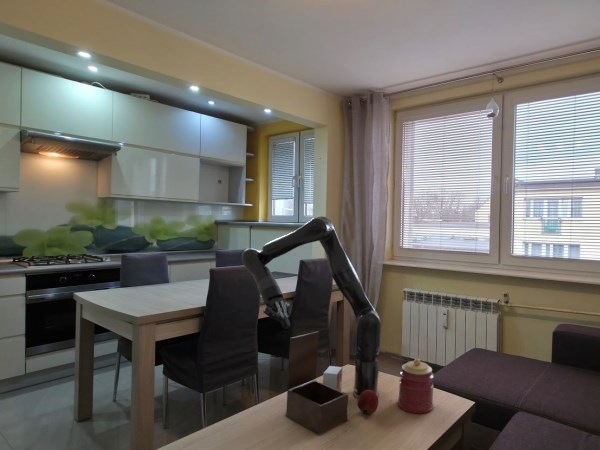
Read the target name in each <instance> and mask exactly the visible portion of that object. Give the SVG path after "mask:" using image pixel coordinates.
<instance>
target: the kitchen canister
mask: <svg viewBox="0 0 600 450" xmlns="http://www.w3.org/2000/svg"><path fill="white" fill-rule="evenodd" d="M399 376H400V379H399V381H398V382H399V383H398V384H399V385H398V387H399V388H398V397H397V398H398V400H397V401H398V406H399V407H400V408H401V409H402V410H404V411H406V412H407V413H408V412H409V413H412V414H424V413H428V412H430V411H431V410H432V408H433V405H434V397H433V396H434V386H435V385H434V383H433V380H434V378H435V374H434V373H433V368H432V367H431V365H429V364H428V363H426V362H424V361H421V359H420V358H415V359H414V360H410V361H407V362H406V363H404V364H402V366H401V369H400V371H399Z"/></svg>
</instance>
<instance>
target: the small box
mask: <svg viewBox="0 0 600 450" xmlns="http://www.w3.org/2000/svg"><path fill="white" fill-rule="evenodd" d="M322 383H323V384H325V385H328V386H330V387H332V388H335V389H337V390H339V391H342V384H343V366H336V365H335V366H334V365H329V366H328V367H327V369H326V370H325V371H324V372H323V373H322Z"/></svg>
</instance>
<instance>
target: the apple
mask: <svg viewBox="0 0 600 450" xmlns="http://www.w3.org/2000/svg"><path fill="white" fill-rule="evenodd" d="M356 402H357V403H356V405H357V408H358V409H359V410H360V411H361V412H362V414H368V415H372V414H374V413H375V412H376V411H377V409H378V406H379V396H378V394H377V395H376V393H375V392H374V391H372V390H365V391H363V392H362V393H361V395H360V396H359V398H357V400H356Z"/></svg>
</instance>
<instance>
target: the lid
mask: <svg viewBox="0 0 600 450" xmlns="http://www.w3.org/2000/svg"><path fill="white" fill-rule="evenodd" d="M319 338H320V331H319V330H317V331H313V332H309V333H305V334H300V335H297V336H292V337H290V338H289V339H290V340H289V349H288V350H289V351H288V364H287V365H288V366H287V377H286V378H287V380H286V389H287V390H290V389H292V388H295V387H298V386H300V385H303V384H306V383H308V382H311V381H314V380H316V379H317V369H318V368H317V367H318V352H319V341H320V340H319Z"/></svg>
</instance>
